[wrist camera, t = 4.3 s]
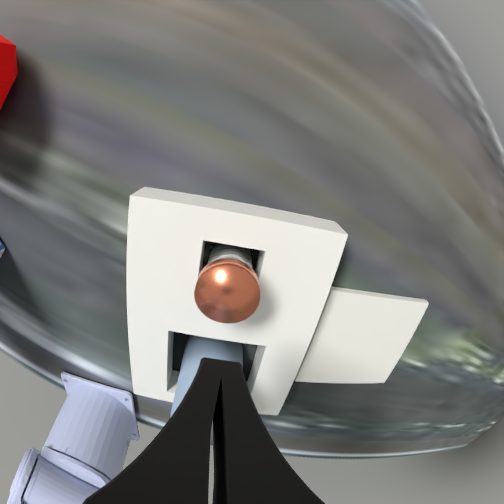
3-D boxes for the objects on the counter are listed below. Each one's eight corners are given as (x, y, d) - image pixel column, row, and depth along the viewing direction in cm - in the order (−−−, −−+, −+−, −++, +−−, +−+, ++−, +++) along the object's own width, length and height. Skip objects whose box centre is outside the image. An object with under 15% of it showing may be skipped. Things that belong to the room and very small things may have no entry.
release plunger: (251, 286, 19) (252, 327, 15) (201, 277, 19) (191, 317, 14) (261, 240, 18) (266, 273, 14) (208, 230, 17) (198, 261, 13)
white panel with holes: (275, 393, 24) (278, 415, 22) (141, 373, 23) (133, 393, 20) (335, 221, 18) (348, 234, 16) (144, 186, 17) (130, 195, 14)
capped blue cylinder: (237, 372, 23) (237, 452, 16) (184, 363, 22) (168, 443, 15) (247, 332, 21) (250, 418, 14) (188, 322, 21) (168, 406, 13)
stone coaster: (382, 378, 24) (384, 382, 23) (294, 376, 23) (295, 381, 23) (425, 299, 21) (428, 303, 20) (329, 286, 20) (331, 290, 19)
